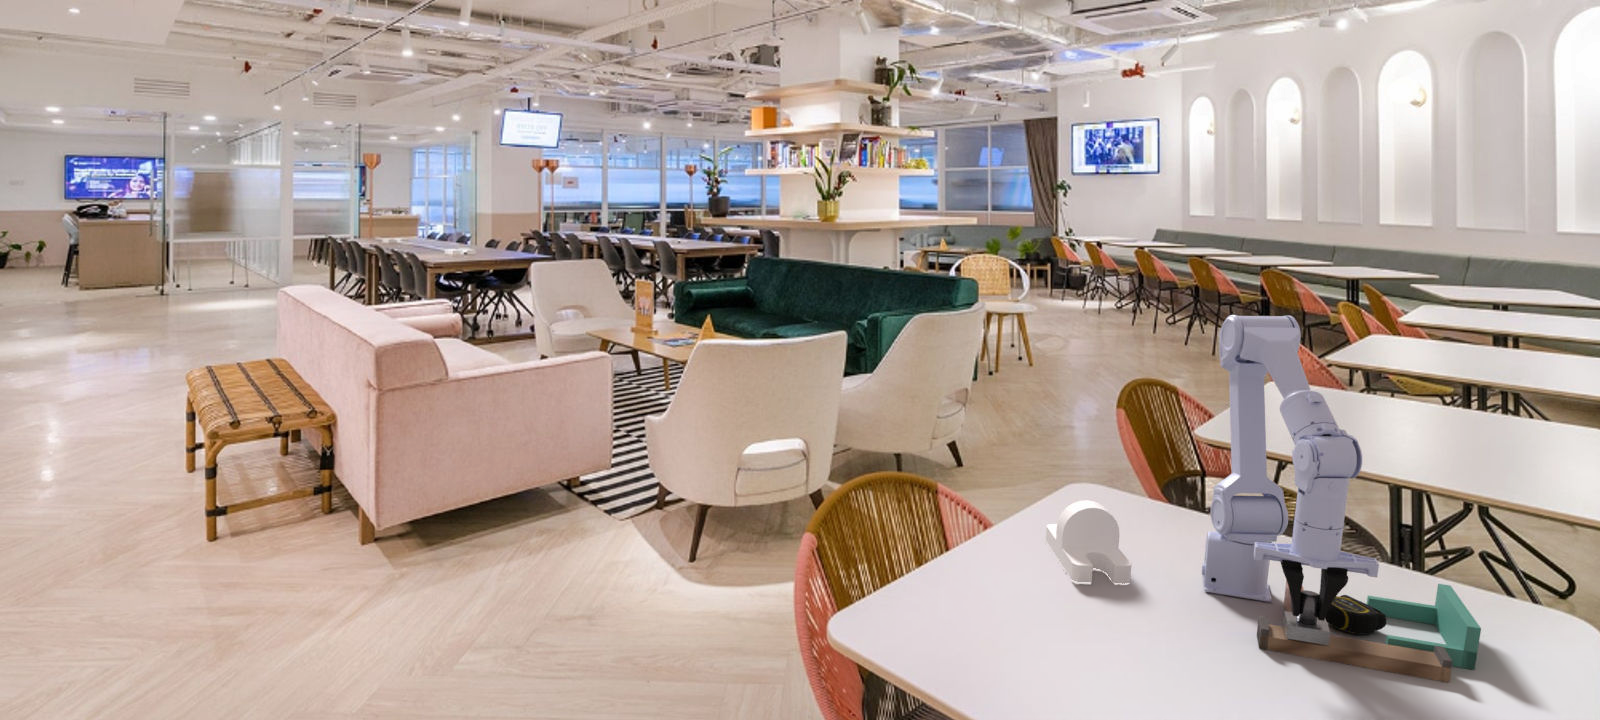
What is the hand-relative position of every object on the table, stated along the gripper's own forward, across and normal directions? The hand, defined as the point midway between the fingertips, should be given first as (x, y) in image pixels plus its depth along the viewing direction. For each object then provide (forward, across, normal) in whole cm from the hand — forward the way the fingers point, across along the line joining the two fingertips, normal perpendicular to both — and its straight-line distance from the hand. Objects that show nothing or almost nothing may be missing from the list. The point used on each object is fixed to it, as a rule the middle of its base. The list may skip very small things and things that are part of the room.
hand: (1307, 615), depth 120 cm
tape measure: (+6, +7, +11) cm, 14 cm away
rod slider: (+5, 0, +6) cm, 8 cm away
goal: (+5, +15, +10) cm, 19 cm away
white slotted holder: (+6, -31, +19) cm, 36 cm away
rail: (+5, +5, 0) cm, 7 cm away
